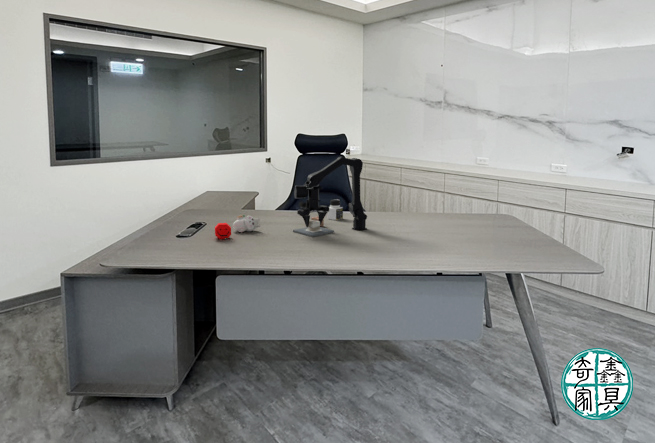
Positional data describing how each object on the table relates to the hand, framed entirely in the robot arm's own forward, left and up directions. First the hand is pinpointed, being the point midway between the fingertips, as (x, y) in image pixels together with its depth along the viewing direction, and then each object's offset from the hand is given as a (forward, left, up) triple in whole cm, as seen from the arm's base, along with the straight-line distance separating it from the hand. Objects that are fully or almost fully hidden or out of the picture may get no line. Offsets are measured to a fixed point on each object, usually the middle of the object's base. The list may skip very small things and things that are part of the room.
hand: (313, 225), depth 271 cm
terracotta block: (+10, -12, -4) cm, 16 cm away
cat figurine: (+26, +26, -4) cm, 37 cm away
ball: (+21, +44, -4) cm, 49 cm away
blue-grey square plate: (0, 0, -4) cm, 4 cm away
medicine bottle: (+18, -34, -4) cm, 39 cm away
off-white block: (0, 0, -2) cm, 2 cm away
